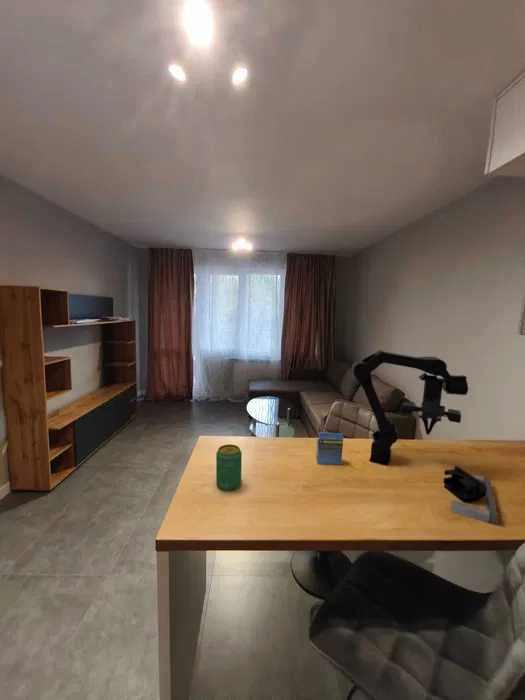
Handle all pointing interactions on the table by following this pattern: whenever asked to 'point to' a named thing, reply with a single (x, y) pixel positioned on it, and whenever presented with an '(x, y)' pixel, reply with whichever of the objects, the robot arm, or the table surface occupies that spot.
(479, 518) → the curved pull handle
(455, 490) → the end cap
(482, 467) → the table surface
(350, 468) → the table surface
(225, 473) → the beverage can
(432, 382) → the robot arm
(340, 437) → the label tape box
